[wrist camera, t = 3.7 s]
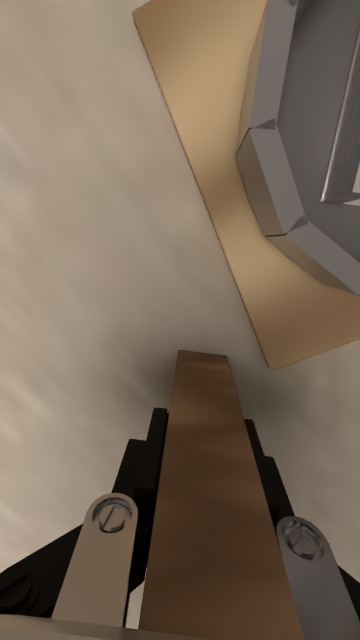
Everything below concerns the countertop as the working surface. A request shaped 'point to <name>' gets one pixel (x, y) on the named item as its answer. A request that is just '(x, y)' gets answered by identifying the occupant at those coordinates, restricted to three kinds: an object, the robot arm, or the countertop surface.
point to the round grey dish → (300, 135)
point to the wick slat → (213, 521)
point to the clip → (346, 143)
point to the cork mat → (237, 171)
